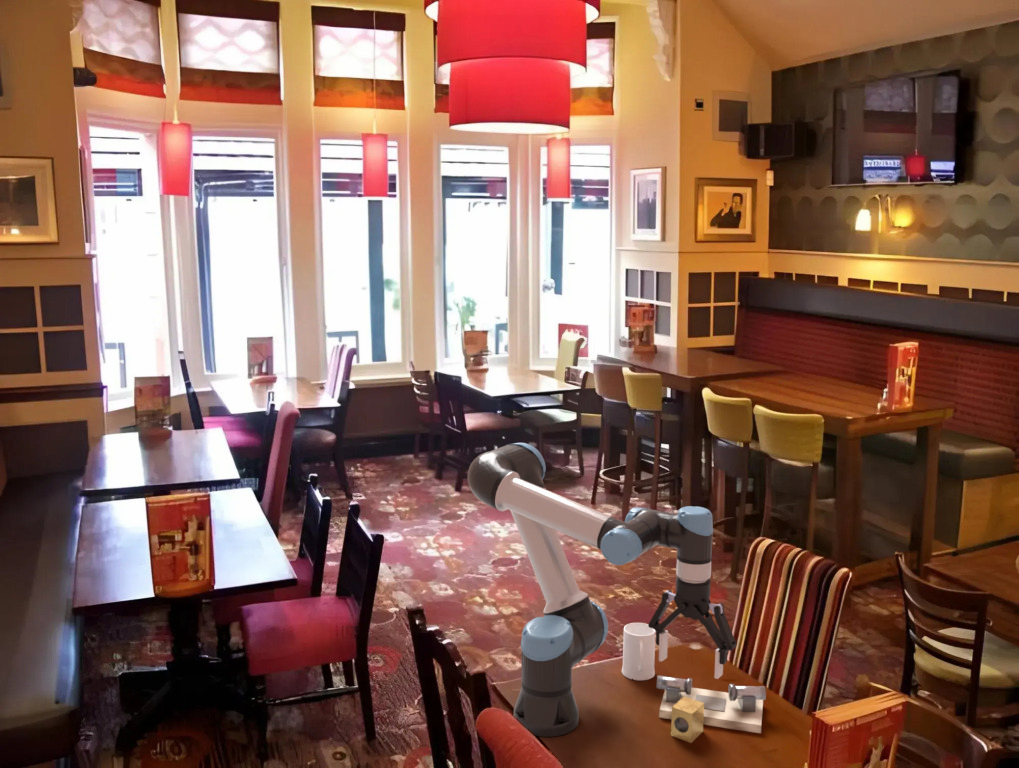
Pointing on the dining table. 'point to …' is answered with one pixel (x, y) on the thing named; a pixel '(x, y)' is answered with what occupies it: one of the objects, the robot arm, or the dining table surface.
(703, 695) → the bench
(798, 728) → the dining table surface
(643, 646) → the mug
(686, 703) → the wooden block with hole
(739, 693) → the shaft right
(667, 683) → the shaft left
